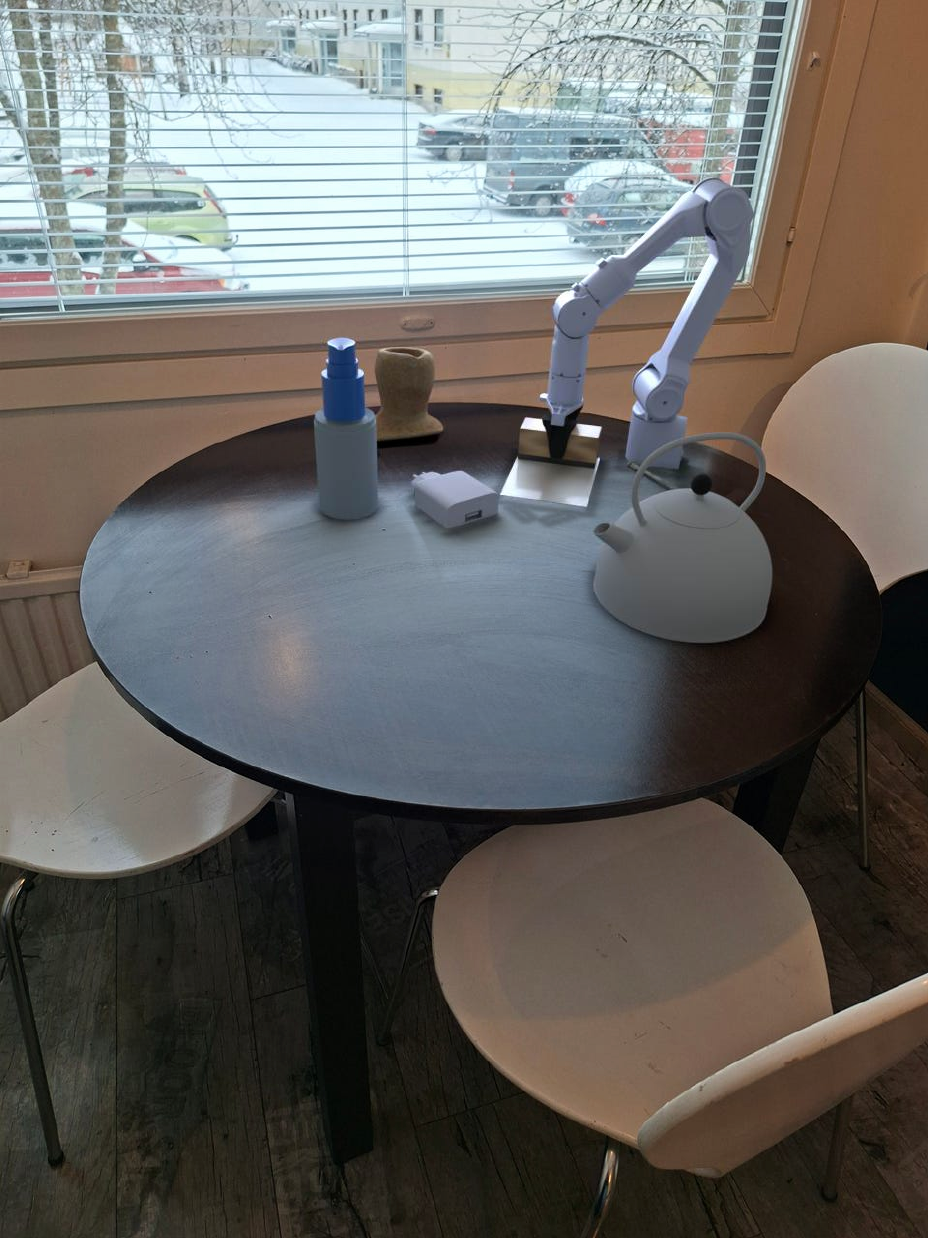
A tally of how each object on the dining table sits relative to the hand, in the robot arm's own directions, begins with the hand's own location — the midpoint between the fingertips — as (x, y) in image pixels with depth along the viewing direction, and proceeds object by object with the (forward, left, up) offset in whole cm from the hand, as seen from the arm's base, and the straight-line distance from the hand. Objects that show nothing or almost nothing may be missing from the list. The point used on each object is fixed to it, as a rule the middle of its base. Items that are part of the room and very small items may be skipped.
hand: (559, 450), depth 147 cm
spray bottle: (+28, +25, -2) cm, 38 cm away
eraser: (0, 0, -1) cm, 1 cm away
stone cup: (+29, -4, -2) cm, 30 cm away
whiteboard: (0, +7, -2) cm, 8 cm away
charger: (+14, +21, -2) cm, 26 cm away
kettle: (-21, +36, -2) cm, 42 cm away
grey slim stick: (-20, +7, -2) cm, 21 cm away
